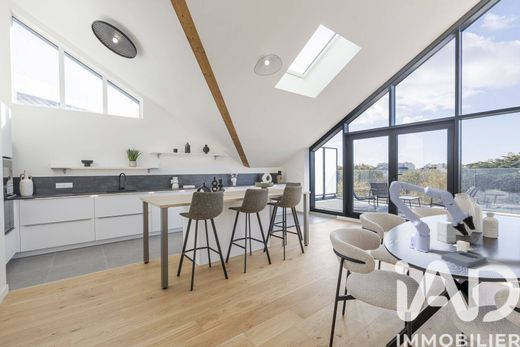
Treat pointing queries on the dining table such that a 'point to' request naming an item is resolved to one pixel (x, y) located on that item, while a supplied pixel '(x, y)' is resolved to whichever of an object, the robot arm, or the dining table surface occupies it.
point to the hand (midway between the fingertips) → (470, 232)
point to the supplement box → (446, 232)
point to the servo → (463, 246)
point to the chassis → (464, 258)
